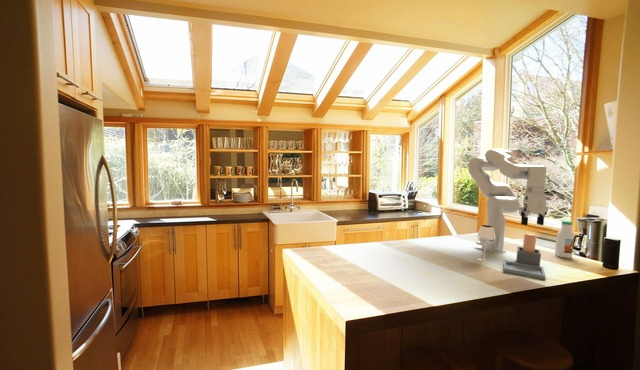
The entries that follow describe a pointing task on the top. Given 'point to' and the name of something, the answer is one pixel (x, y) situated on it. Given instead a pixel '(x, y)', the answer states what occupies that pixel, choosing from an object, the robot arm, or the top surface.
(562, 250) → the milk bottle
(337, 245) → the top surface
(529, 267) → the tray
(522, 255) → the grey open box
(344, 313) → the top surface
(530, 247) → the tan tall block
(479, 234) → the wineglass
